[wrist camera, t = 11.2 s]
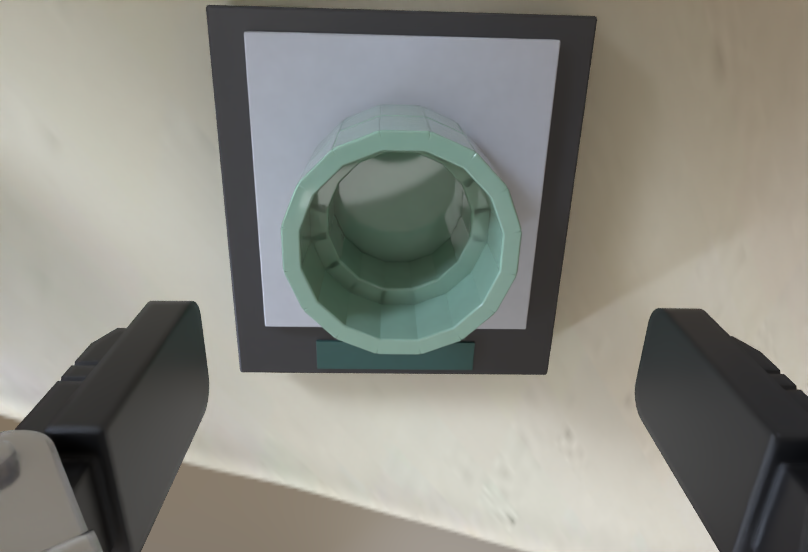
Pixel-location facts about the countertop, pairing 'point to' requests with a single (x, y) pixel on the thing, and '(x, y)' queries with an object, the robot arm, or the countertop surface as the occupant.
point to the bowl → (400, 232)
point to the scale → (401, 85)
